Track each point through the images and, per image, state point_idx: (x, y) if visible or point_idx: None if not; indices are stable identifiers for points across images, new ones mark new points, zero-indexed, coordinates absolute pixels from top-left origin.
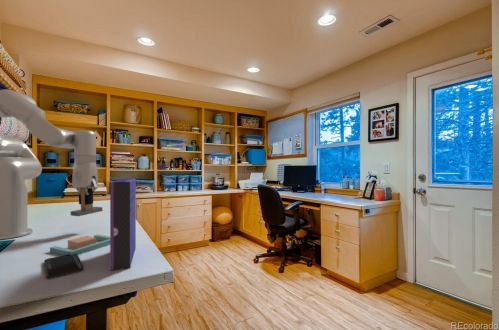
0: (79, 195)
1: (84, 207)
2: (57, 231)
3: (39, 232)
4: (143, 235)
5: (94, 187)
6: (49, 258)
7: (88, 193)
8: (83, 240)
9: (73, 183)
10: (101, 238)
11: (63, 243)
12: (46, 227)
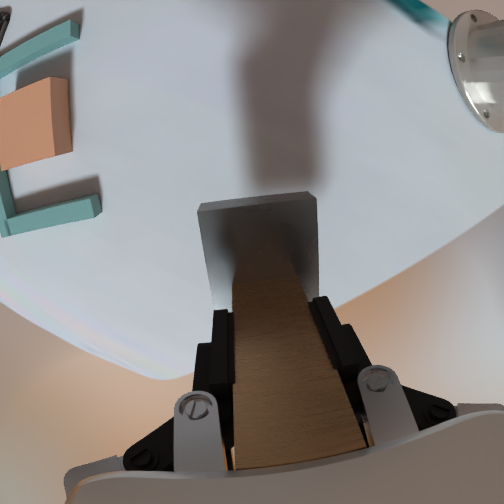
0: (340, 359)
1: (247, 294)
2: (414, 176)
3: (460, 133)
4: (31, 320)
5: (69, 481)
6: (3, 21)
7: (178, 415)
8: (4, 123)
9: (499, 455)
10: (50, 206)
11: (151, 84)
12: (500, 195)
